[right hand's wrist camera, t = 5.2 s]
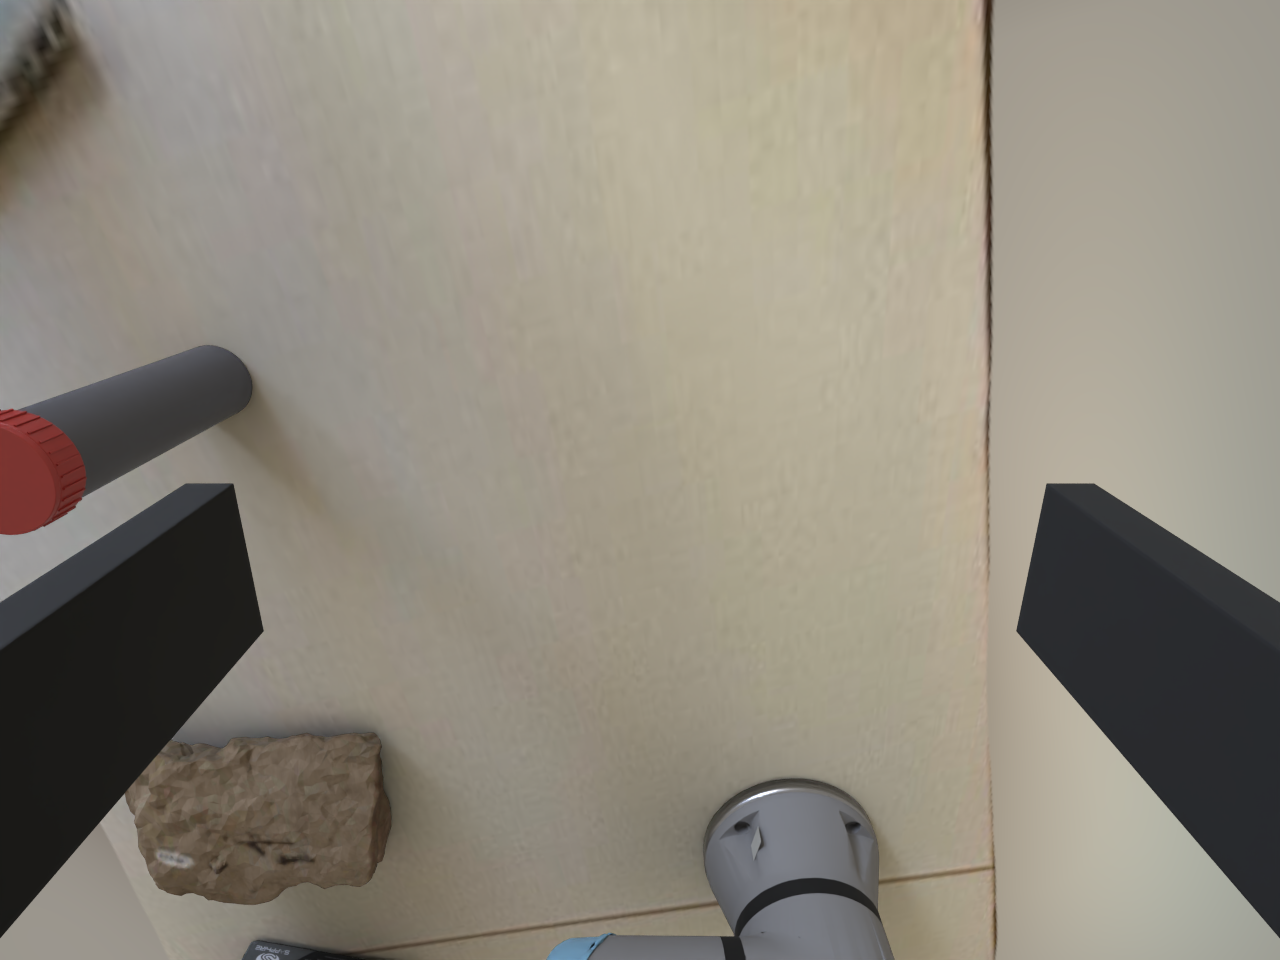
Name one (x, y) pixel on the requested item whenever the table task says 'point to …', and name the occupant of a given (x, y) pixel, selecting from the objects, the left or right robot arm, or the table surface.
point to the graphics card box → (287, 953)
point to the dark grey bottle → (147, 410)
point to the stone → (262, 815)
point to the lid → (36, 472)
